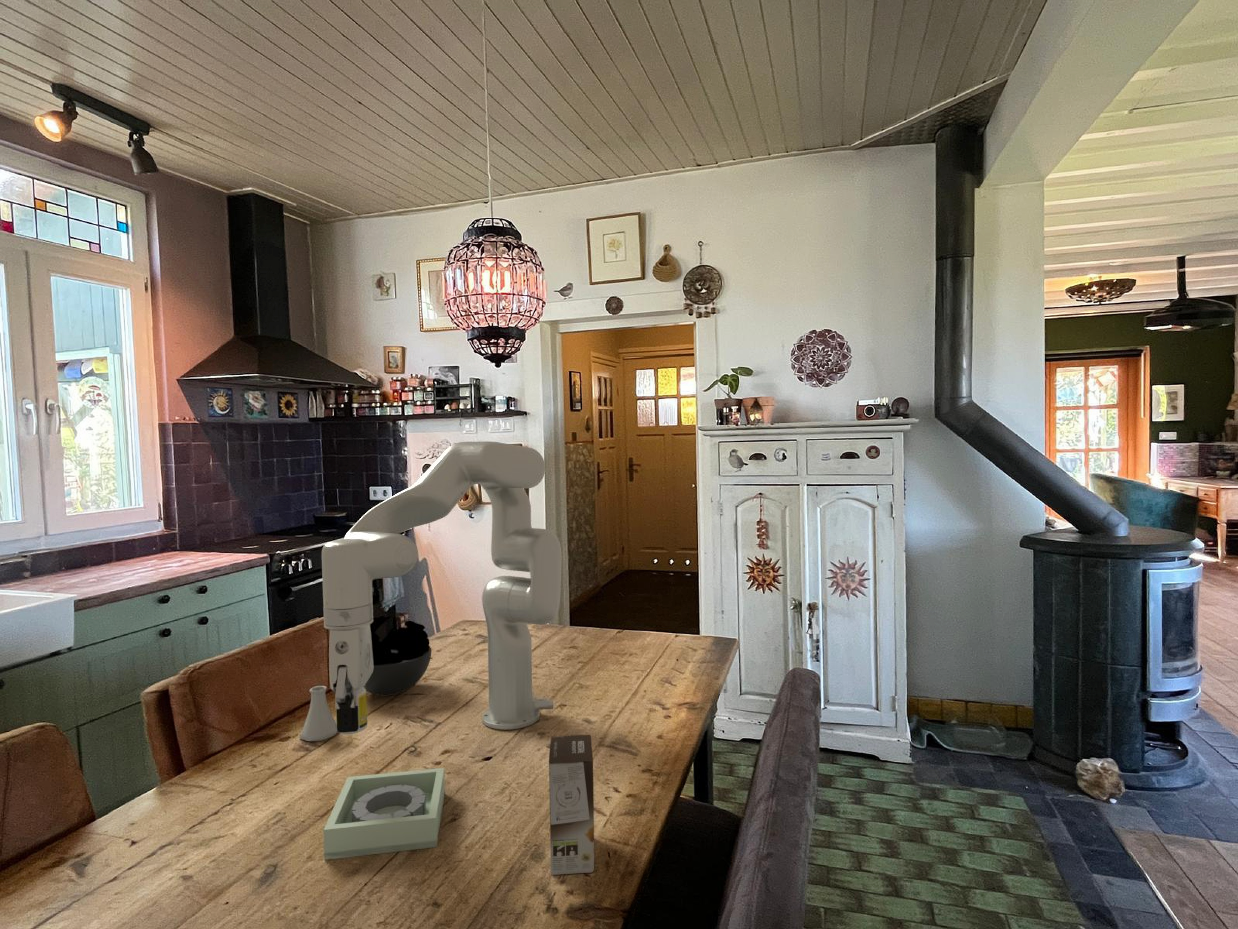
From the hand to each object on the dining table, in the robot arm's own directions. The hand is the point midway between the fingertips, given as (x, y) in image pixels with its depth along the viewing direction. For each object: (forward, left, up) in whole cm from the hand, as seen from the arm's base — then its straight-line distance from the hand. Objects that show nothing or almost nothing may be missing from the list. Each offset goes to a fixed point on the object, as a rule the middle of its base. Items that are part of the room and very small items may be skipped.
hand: (352, 723), depth 111 cm
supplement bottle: (0, 0, -1) cm, 1 cm away
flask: (+14, -33, -15) cm, 39 cm away
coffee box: (-34, +19, -15) cm, 42 cm away
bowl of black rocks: (+3, -55, -15) cm, 58 cm away
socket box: (-6, +5, -15) cm, 17 cm away
